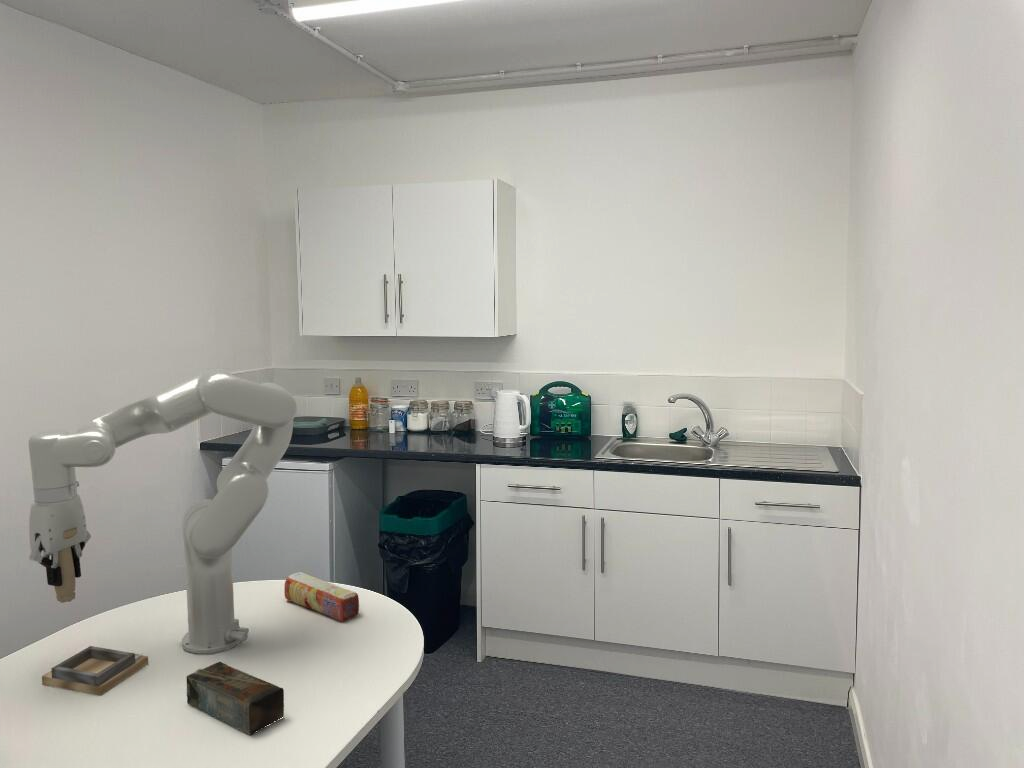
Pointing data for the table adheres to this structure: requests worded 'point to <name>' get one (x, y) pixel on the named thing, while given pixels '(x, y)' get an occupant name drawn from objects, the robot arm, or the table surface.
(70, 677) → the wooden tray
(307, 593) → the snack package
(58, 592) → the handle
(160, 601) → the table surface
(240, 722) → the beverage carton
